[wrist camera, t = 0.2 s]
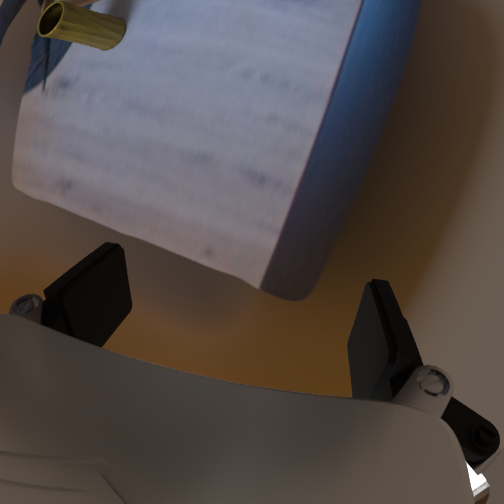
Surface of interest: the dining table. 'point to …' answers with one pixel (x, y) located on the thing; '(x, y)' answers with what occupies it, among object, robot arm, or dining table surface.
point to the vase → (80, 26)
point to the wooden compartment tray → (75, 0)
